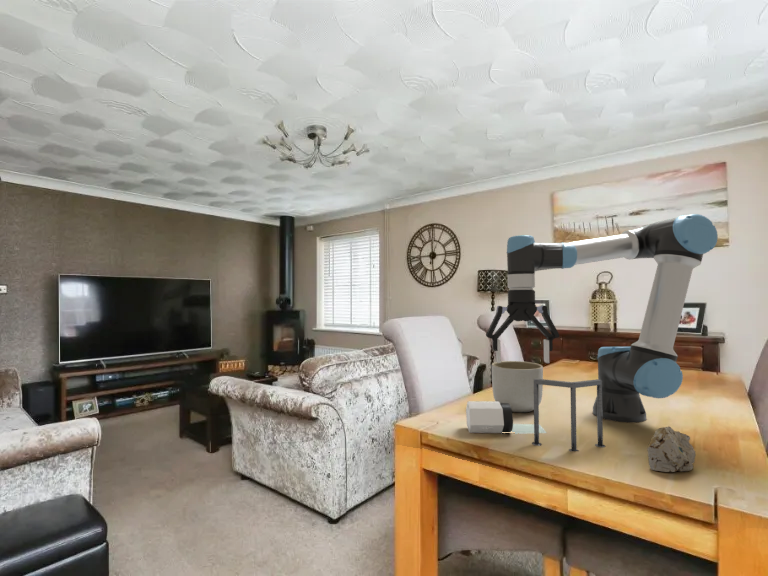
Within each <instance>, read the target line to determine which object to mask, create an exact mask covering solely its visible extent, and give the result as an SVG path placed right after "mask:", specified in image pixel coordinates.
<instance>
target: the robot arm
mask: <svg viewBox="0 0 768 576" xmlns="http://www.w3.org/2000/svg"><path fill="white" fill-rule="evenodd" d="M718 235H719V234H718V229H717V228H716V226H715V225H714V224H713V222H712V220H710V219H709V218H708V217H706V216H704V215H702V214H698V213H691V214H681V215H679V216H677V217H674V218H673V217H672V218H669V219H665V220H664V219H663V220H661V221H655V222H652V223H649V224H647V225H644V226H641V227H637V228H633V229H628V230H624V231H623V232H622V233H620V234H616V235H610V236H609V235H608V236H603V237H597V238H590V239H589V238H588V239H583V240H577V241H571V242H563V241H562V242H536V241H535V237H534V236H533V235H528V234H526V235H525V234H522V235H513V236H510V237H508V238H507V244H506V264H507V265H506V266H507V288H508V291H507V306H502V305H497V306H496V312H495V315H494V317H493V319H492V321H491V323H490V325H489V327H488V329H487V331H486V333H485V337H487V338H488V339H491V340H492V342H491V343H492V350H493V352H496V353H495V355H496V356H495V362H498V363H501V361H502V357H501V353H502V351H501V340H500V339H499V338H500V337H501V335H502V334H503V333H504V332H505V331H506V330H507V328H508V327H509V326H510V325H511V324H512V323H513V322H514V321H515V322H522V321H523V322H529V321H530V322H532V324H533V325H534V326H535V327H536V328H537V329H538V331H540V333H541V334H542V335H543V336H544V337H545V339H543V362H544V363H545V364H550V352H552V351H553V347H554V346H553V344H554V343H553V341H554V339H557V338H558V339H559V338H560V333H559V332H558V330H557V328H556V326H555V323H554V322H553V321H552V319H551V317H550V315H549V312H548V307H547V305H543V304H542V305H539V306H536V291H535V290H534V288H535V287H536V278H535V273H536V272H539V271H547V270H553V269H555V270H556V269H560V270H565V269H571V268H573V267H574V266H577V265H583V264H589V263H595V262H596V263H597V262H602V261H609V260H615V259H621V258H622V259H623V258H625V259H626V260H634V259H637V260H639V259H653V260H654V261H655V262H656V263H657V267H656V269H655V270H656V271H655V274H654V279H653V283H652V287H651V290H650V292H649V298H648V301H647V305H646V311H645V314H644V317H643V321H642V325H641V329H640V333H639V337H638V340H637V341H635V342H633V343H632V344H630V346H601V347H600V348H598V350H597V358H596V359H597V375H598V376H597V378H598V380H601V381H602V420H608V421H613V422H619V423H642V422H645V421H646V420H647V412H646V409H645V406H644V404H643V401H642V399H641V396H643V397H649V398H654V399H665V398H668V397H669V396H672V395H675V393H676V392H677V391H678V390H680V387H681V386H682V384H683V379H684V377H683V371H682V370H681V367H680V365H679V364H678V363H677V360H678V356H679V355H678V354H677V352H675V350H674V345H675V341H676V337H677V334H678V330H679V325H680V321H681V318H682V313H683V310H684V305H685V301H686V297H687V294H688V289H689V285H690V281H691V279H692V278H691V276H692V275H693V274H692V273H693V270H694V269H695V268H697V267H698V266H701V264H702V261H703V257H704V254H707V253H709V252H711V251H712V250H713V249H714V248H715V247H716V245H717V243H718ZM537 312H538V313H539V314H540V315H541V317H542V319H543V320H544V322H545V324H546V326H547V328H548V330H549V331H548V330H547V329H546V328H545V326H544V325H543V324H542V323H541V322H540V321H539V320H538V318H537V317H536V316H535V314H536V313H537ZM505 313H507V314H508V315H509V316H507V317H506V319H505V321H504V322H503V323H502V324H501V325H500V327H498V328H497V330H496V327H497V325H498V324H499V321H500V319H502V318H501V317H502V315H504V314H505ZM495 330H496V331H495ZM640 395H641V396H640ZM592 414H593V416H595V417H597V396H596V397H595V399H594V402H593V405H592Z"/></svg>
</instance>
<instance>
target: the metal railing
mask: <svg viewBox="0 0 768 576" xmlns="http://www.w3.org/2000/svg"><path fill="white" fill-rule="evenodd" d="M533 382H534V410H533V424H534V433H533V436H534V437H533V442H531V445H533V446H535V447H536V446H538V447H540V446H541V447H542V445H543V444H542V443H541V442H540V433H539V424H540V421H539V420H540V414H539V413H540V412H539V410H540V408H539V407H540V405H539V394H538V384H540V385H543V386H550V387H551V386H552V387H559V388H562V387H563V388H567V389H568V388H570V444H571V446H570V447H571V448H569V449H568V451H569V452H580V450H579V449H577V447H578V446H577V444H578V443H577V392H576V390H577V388H587V387H595V386H596V397H597V416H596V420H597V421H596V422H597V427H596V428H597V429H596V430H597V432H596V433H597V443H595V444H594V446H596V447H597V448H606V445H605V444H604V442H603V441H604V435H603V434H604V433H603V432H604V431H603V429H604V427H603V426H604V425H603V424H604V423H603V418H602V381H601V380H598V379H597V378H596V379H587V380H580V381H564V380H555V379H545V378H543V379H534V380H533Z"/></svg>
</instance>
